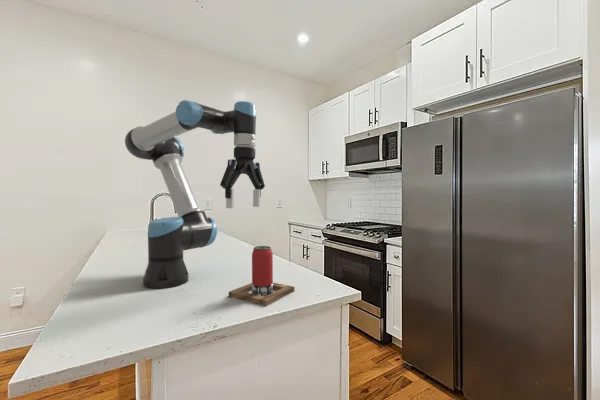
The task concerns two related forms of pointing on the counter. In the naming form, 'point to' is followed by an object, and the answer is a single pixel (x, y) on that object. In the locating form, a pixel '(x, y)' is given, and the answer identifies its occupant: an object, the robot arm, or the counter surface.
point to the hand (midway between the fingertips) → (243, 207)
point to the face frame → (263, 300)
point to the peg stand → (262, 290)
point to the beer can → (262, 266)
